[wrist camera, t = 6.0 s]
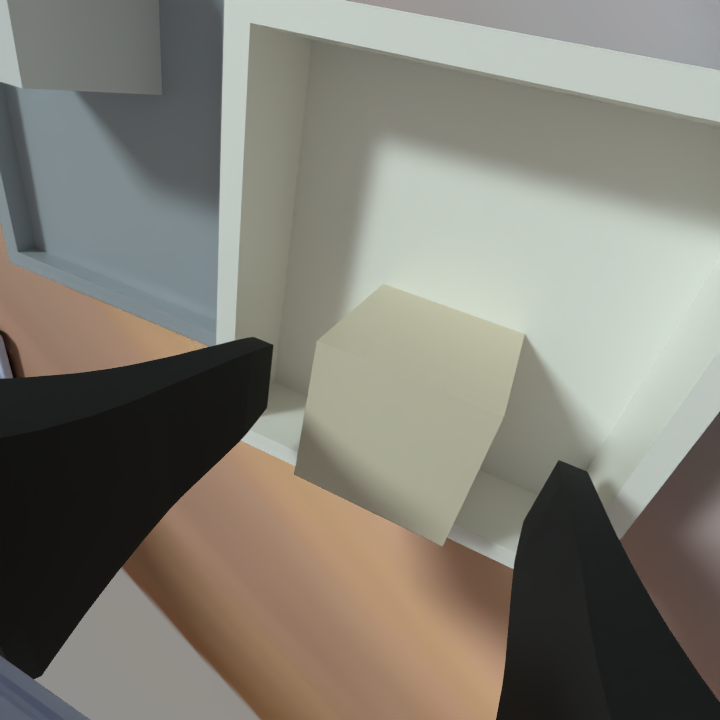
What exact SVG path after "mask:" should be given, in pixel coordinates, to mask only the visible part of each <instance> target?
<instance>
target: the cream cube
mask: <svg viewBox="0 0 720 720" xmlns="http://www.w3.org/2000/svg"><path fill="white" fill-rule="evenodd" d="M524 335H525V334H523V333H520V332H518V331H515V330H512V329H509V328H506V327H504V326H501V325H498V324H495V323H492V322H490V321H487V320H484V319H481V318H478V317H475V316H473V315H470V314H467V313H464V312H461V311H459V310H456V309H453V308H450V307H447V306H444V305H442V304H439V303H436V302H433V301H430V300H428V299H425V298H422V297H419V296H416V295H413V294H411V293H408V292H405V291H402V290H399V289H397V288H394V287H391V286H388V285H385V284H382V285H381V286H380V287H379V288H378V289H377V290H375V291H374V292H373V293H372V294H371V295H370V296H368V297H367V298H366V299H365V300H364V301H363V302H362V303H360V304H359V305H358V306H357V307H356V308H355V309H353V310H352V311H351V312H350V313H349V314H348V315H346V316H345V317H344V318H343V319H342V320H341V321H339V322H338V323H337V324H336V325H335V326H334V327H332V328H331V329H330V330H329V331H328V332H327V333H326V334H324V335H323V336H322V337H321V338H320V339H319V340H317V343H316V349H315V354H314V360H313V366H312V372H311V378H310V384H309V390H308V396H307V401H306V407H305V413H304V419H303V425H302V431H301V437H300V442H299V448H298V454H297V460H296V466H295V472H294V475H296V476H298V477H300V478H302V479H305V480H307V481H309V482H311V483H313V484H315V485H317V486H319V487H321V488H323V489H325V490H327V491H329V492H331V493H333V494H335V495H337V496H339V497H342V498H344V499H346V500H348V501H350V502H352V503H354V504H356V505H358V506H360V507H362V508H364V509H366V510H368V511H370V512H372V513H374V514H377V515H379V516H381V517H383V518H385V519H387V520H389V521H391V522H393V523H395V524H397V525H399V526H401V527H403V528H405V529H407V530H409V531H412V532H414V533H416V534H418V535H420V536H422V537H424V538H426V539H428V540H430V541H432V542H434V543H436V544H438V545H440V546H442V547H443V545H444V543H445V541H446V538H447V536H448V534H449V532H450V530H451V528H452V526H453V524H454V522H455V519H456V517H457V515H458V513H459V511H460V509H461V507H462V505H463V503H464V500H465V498H466V496H467V494H468V492H469V490H470V488H471V486H472V484H473V481H474V479H475V477H476V475H477V473H478V471H479V469H480V467H481V465H482V462H483V460H484V458H485V456H486V454H487V452H488V450H489V448H490V446H491V443H492V441H493V439H494V437H495V435H496V433H497V431H498V429H499V427H500V424H501V422H502V420H503V418H504V416H505V412H506V408H507V404H508V400H509V396H510V392H511V387H512V383H513V379H514V375H515V371H516V367H517V363H518V359H519V355H520V351H521V347H522V343H523V339H524Z"/></svg>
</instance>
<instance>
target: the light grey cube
mask: <svg viewBox="0 0 720 720" xmlns="http://www.w3.org/2000/svg"><path fill="white" fill-rule="evenodd" d="M0 82H3V83H6V84H10V85H13V86H16V87H20V88H27V89H47V90H68V91H89V92H109V93H130V94H150V95H162V75H161V48H160V20H159V0H0Z"/></svg>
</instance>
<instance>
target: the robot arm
mask: <svg viewBox="0 0 720 720" xmlns="http://www.w3.org/2000/svg"><path fill="white" fill-rule="evenodd" d="M273 346H274V345H273V344H270V343H268V342H265V341H263V340H260V339H258V338H255V337H249V338H244V339H239V340H235V341H231V342H227V343H223V344H219V345H215V346H211V347H207V348H203V349H199V350H195V351H191V352H188V353H184V354H180V355H176V356H171V357H167V358H162V359H157V360H153V361H148V362H144V363H139V364H134V365H129V366H124V367H118V368H112V369H105V370H98V371H91V372H84V373H75V374H64V375H51V376H39V377H27V378H13V375H12V371H11V368H10V364H9V360H8V356H7V352H6V348H5V345H4V341H3V338H2V336H1V334H0V720H90V719H89V718H87V717H86V716H84V715H83V714H82V713H80V712H79V711H77V710H76V709H75V708H73V707H72V706H70V705H69V704H68V703H66V702H64V701H63V700H62V699H60V698H59V697H58V696H56V695H55V694H53V693H52V692H51V691H49V690H48V689H46V688H45V687H44V686H42V685H41V684H39V683H38V682H37V681H35V680H34V679H35V678H38V677H40V676H42V674H43V673H44V671H45V670H46V669H47V667H48V666H49V664H50V663H51V661H52V660H53V658H54V657H55V656H56V654H57V653H58V651H59V650H60V649H61V647H62V646H63V644H64V643H65V641H66V640H67V639H68V637H69V636H70V634H71V633H72V632H73V630H74V629H75V628H76V626H77V625H78V623H79V622H80V621H81V619H82V618H83V616H84V615H85V614H86V612H87V611H88V610H89V608H90V607H91V606H92V604H93V603H94V602H95V601H96V599H97V598H98V597H99V595H100V594H101V593H102V591H103V590H104V589H105V587H106V586H107V585H108V584H109V582H110V581H111V579H112V578H113V577H114V576H115V574H116V573H117V572H118V571H119V569H120V568H121V567H122V566H123V564H124V563H125V562H126V561H127V560H128V558H129V557H130V556H131V555H132V553H133V552H134V551H135V550H136V548H137V547H138V546H139V545H140V544H141V542H142V541H143V540H144V539H145V537H146V536H147V535H148V534H149V533H150V532H151V530H152V529H153V528H154V527H155V526H156V525H157V523H158V522H159V521H160V520H161V519H162V518H163V516H164V515H165V514H166V513H167V512H168V511H169V509H170V508H171V507H172V506H173V505H174V504H175V503H176V502H177V501H178V500H179V499H180V498H181V497H182V496H183V495H184V494H185V493H186V492H187V491H188V490H189V489H190V488H191V487H192V486H193V485H194V484H195V483H196V482H197V481H199V480H200V479H201V478H202V477H203V476H204V475H205V474H206V473H207V472H208V471H209V470H210V469H211V468H212V467H213V466H214V465H215V464H216V463H218V462H219V461H220V460H221V459H222V458H223V457H224V456H225V455H226V454H227V453H228V452H229V451H230V450H231V449H232V448H233V447H234V446H235V445H236V444H237V443H238V442H239V441H240V440H241V439H242V438H243V437H244V436H245V435H246V434H247V433H248V431H249V430H250V429H251V428H252V427H253V425H254V424H255V423H256V422H257V420H258V419H259V418H260V416H261V415H262V414H263V412H264V411H265V410H266V408H267V405H268V395H269V385H270V375H271V365H272V356H273ZM496 720H720V702H719V701H718V699H717V698H716V697H715V695H714V694H713V693H712V691H711V690H710V688H709V687H708V686H707V684H706V683H705V681H704V680H703V679H702V677H701V676H700V674H699V673H698V672H697V670H696V669H695V667H694V666H693V664H692V663H691V661H690V660H689V658H688V657H687V655H686V654H685V652H684V651H683V649H682V648H681V646H680V645H679V643H678V642H677V640H676V639H675V637H674V636H673V634H672V633H671V631H670V629H669V628H668V626H667V625H666V623H665V621H664V620H663V618H662V617H661V615H660V613H659V612H658V610H657V608H656V607H655V605H654V603H653V601H652V600H651V598H650V596H649V594H648V593H647V591H646V589H645V587H644V586H643V584H642V582H641V580H640V579H639V577H638V575H637V573H636V571H635V570H634V568H633V566H632V564H631V562H630V560H629V558H628V556H627V554H626V552H625V550H624V548H623V546H622V544H621V542H620V540H619V539H618V537H617V534H616V532H615V530H614V528H613V526H612V524H611V522H610V520H609V517H608V515H607V513H606V511H605V509H604V507H603V504H602V502H601V500H600V498H599V496H598V493H597V491H596V489H595V487H594V485H593V482H592V480H591V478H590V476H589V474H588V472H587V471H585V470H582V469H580V468H577V467H575V466H572V465H570V464H568V463H565V462H563V461H560V460H558V462H557V464H556V465H555V467H554V469H553V471H552V472H551V474H550V476H549V478H548V479H547V481H546V483H545V484H544V486H543V488H542V490H541V491H540V493H539V495H538V497H537V498H536V500H535V502H534V503H533V505H532V507H531V509H530V510H529V512H528V514H527V516H526V517H525V519H524V521H523V525H522V529H521V533H520V538H519V542H518V547H517V551H516V556H515V561H514V570H513V581H512V592H511V603H510V615H509V627H508V638H507V650H506V662H505V670H504V678H503V685H502V691H501V696H500V702H499V707H498V712H497V718H496Z"/></svg>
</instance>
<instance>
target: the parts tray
mask: <svg viewBox="0 0 720 720" xmlns="http://www.w3.org/2000/svg"><path fill="white" fill-rule="evenodd" d="M159 20H160V48H161V75H162V95H150V94H130V93H109V92H89V91H68V90H47V89H27V88H20V87H16V86H13V85H10V84H6V83H3V82H0V222H1V226H2V230H3V235H4V239H5V243H6V248H7V252H8V257H9V261H10V263H13V264H15V265H17V266H20V267H22V268H25V269H27V270H29V271H32V272H34V273H36V274H39V275H41V276H43V277H46V278H48V279H51V280H53V281H55V282H58V283H60V284H62V285H65V286H67V287H70V288H72V289H74V290H77V291H79V292H81V293H84V294H86V295H89V296H91V297H93V298H96V299H98V300H100V301H103V302H105V303H108V304H110V305H112V306H115V307H117V308H119V309H122V310H124V311H126V312H129V313H131V314H134V315H136V316H138V317H141V318H143V319H145V320H148V321H150V322H153V323H155V324H157V325H160V326H162V327H164V328H167V329H169V330H172V331H174V332H176V333H179V334H181V335H183V336H186V337H188V338H191V339H193V340H195V341H198V342H200V343H202V344H205V345H207V346H209V347H211V346H215V345H216V329H217V287H218V246H219V204H220V162H221V121H222V79H223V37H224V0H159Z"/></svg>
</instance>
